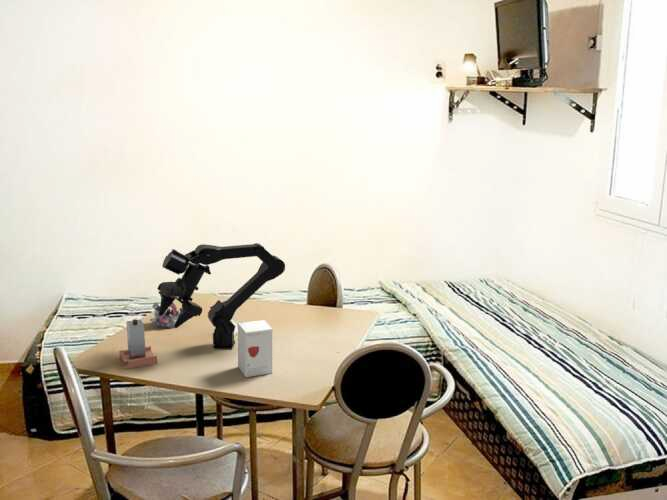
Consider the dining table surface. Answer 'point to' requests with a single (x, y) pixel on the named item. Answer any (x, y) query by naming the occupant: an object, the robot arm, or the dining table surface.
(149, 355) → the tray
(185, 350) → the dining table surface
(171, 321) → the brake caliper
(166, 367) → the dining table surface
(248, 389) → the dining table surface
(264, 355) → the supplement box
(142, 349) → the knobbed tall block
